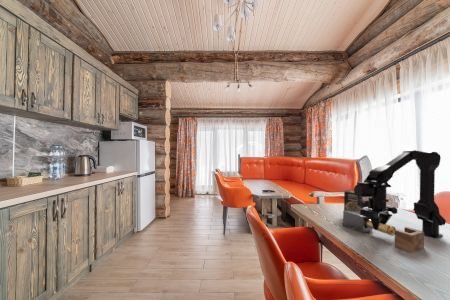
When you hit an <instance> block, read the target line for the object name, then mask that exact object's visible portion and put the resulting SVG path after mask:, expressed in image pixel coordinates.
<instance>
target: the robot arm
mask: <svg viewBox="0 0 450 300" xmlns="http://www.w3.org/2000/svg"><path fill="white" fill-rule="evenodd" d="M412 161H415V164H416V166H417V168H418V169H419V199H418V201H417V202H415V201H414V202H413V211H414V214H415V215H416V218H417V219H418V220H421V221H422V223H421V225H422V226H421V227H422V229H421V231H423V232H424V236H428V237H431V238H434V239H438V238H441V237H443V236H444V234H442V233H440V226H444V225H446V222H447V220H446V218H444V216H442V215H441V214H440V213H441V212H440V208H439V206H438V205H437V203H436V202H435V182H436V181H435V178H436V177H435V175H436V174H435V171H436V170H437V169H438V168H439V166H440V163H441V155H440V154H439V152H436V151H426V150H425V151H419V150H416V149H405V150H404V151H402V153H400V154H398V156H395V158H393V159H391V160H390V161H389V162H387V163H385V164H384V165H382V166H377V167H375V168H373V169H371V170H370V171H369V172H368V175H367V176H366V178H365V179H364V181H363V182H362V181H356V184H355V186H354V188H353V191H354V193H355V195H356V196H357V197H364V198H365V197H366V198H367V197H368V200H365V199H364V200H363V199H361V200H358V204H357V205H358V206H360V208H363V207H364V209H361V210H360V215H362V216H366V217H369V218H370V220H371V222H372V225H373V227H374V229H373V230H374V231H377V229H378V227H379V224H380V223H383V224H386V225H387V224H388V221H389V220H390V219H391V217H392V216H393V215H396V214H398V208H397V207H396V206H393V205H389V204H388V205H387V203H389V202H390V201H389V199H388V198H387V188H391V187H392V185H390V184H389V183H388V182H389V181H391V179H392V178H393V177H394V173H396V172H397V171H399V170H400V169H402V168H403V167H404V166H406V165H407V164H409V163H410V162H412ZM390 212H391V213H392V214H391V213H390Z"/></svg>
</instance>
